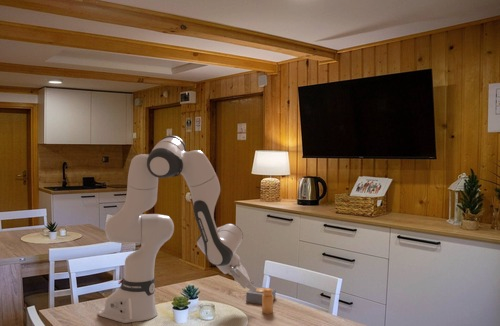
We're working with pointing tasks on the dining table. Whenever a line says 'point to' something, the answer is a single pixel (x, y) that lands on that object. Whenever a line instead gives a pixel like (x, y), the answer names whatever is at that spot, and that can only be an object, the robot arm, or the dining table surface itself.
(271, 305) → the orange bottle
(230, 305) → the dining table surface
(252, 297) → the grey square platform
